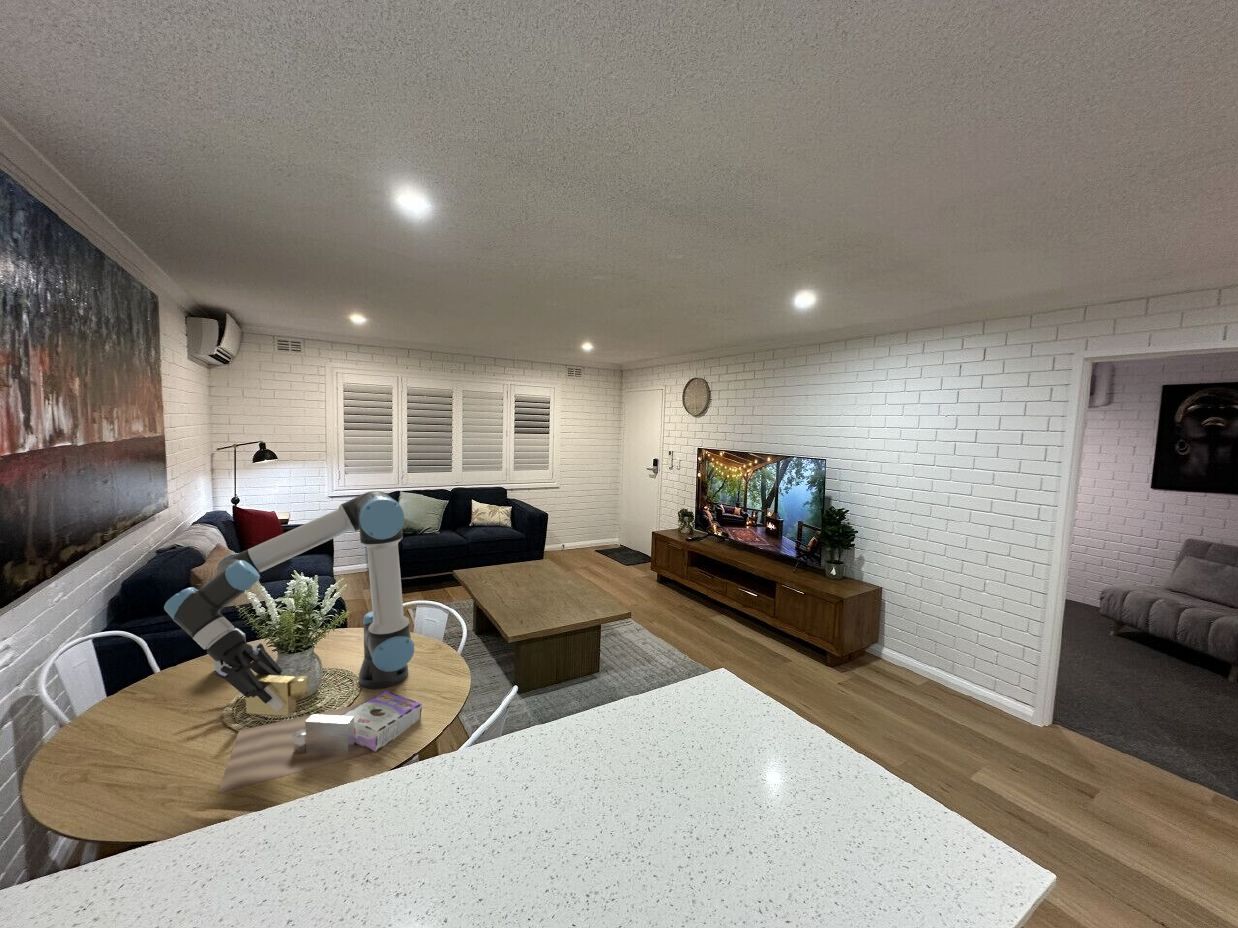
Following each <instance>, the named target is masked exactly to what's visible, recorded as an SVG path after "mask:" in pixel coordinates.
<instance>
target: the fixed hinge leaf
mask: <svg viewBox="0 0 1238 928" xmlns="http://www.w3.org/2000/svg"><path fill="white" fill-rule="evenodd" d="M316 714H317V713H312V714H310V715H311V716H310V717H309V718H308V719H307V720H306V721H305V728H306V729H302V730H299V731H297V732H296V733H295V734H294V735H293V748H294V754H296V755H301V754H304V753H306V754H318V755H335V756H349V755H350V753H351V752H352V751H353V750H354V748H355V746H354V717H352V716H334V715H316Z"/></svg>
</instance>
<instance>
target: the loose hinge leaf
mask: <svg viewBox="0 0 1238 928" xmlns="http://www.w3.org/2000/svg"><path fill="white" fill-rule="evenodd" d="M254 675H255V676H256V677H257V679H258V680H259V681H260V683H261V684H262V685H263V687H264V689H265V688H266V687H267V686H268V687H269V688H270V689H271V690H272V691H273V692H274V693H275V694H276V695H277V696H278V697H279V698H280V699H281V700H282V701H283V702H284V703H285V705H284V706H283V707H282V708H281V709H280V710H279V711H278V712H276V711H275V710H274V709H273V708H271V707H270V706H269V705H268V704H267V703H264V702H263V701H262V700H261V699H260V698H259V697H258V696H255V697H251V696H250V697H249V698H247V697H245V706H246V707H245V708H246V714H252V715H269V716H270V715H271V716H284V717H285V716H286V717H290V715H291V714H292V713H293V712H294V711H295V710H297V700H301V699H304V698H307V696H308V695H309V677H308V676H307V675H300V676H292V675H291V676H290V675H281V676H277V675H260V674H257V673H254Z"/></svg>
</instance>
